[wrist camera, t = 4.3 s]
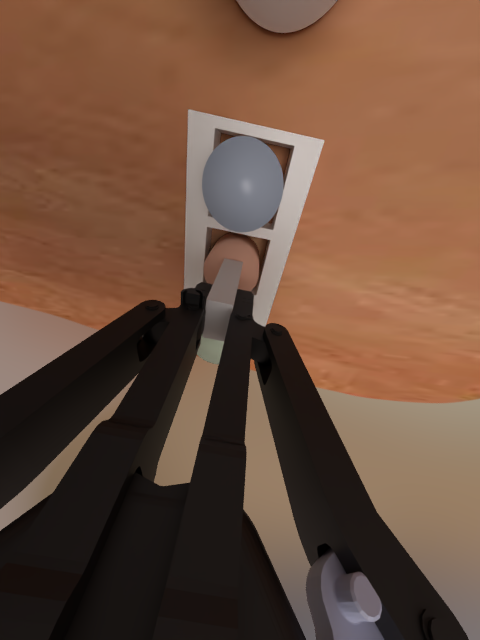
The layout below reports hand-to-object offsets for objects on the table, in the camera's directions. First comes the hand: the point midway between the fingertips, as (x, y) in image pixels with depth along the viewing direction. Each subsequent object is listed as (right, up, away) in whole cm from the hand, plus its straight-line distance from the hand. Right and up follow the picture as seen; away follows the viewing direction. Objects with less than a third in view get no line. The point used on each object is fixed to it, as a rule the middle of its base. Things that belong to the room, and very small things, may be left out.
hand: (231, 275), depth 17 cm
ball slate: (+1, +6, -2) cm, 7 cm away
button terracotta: (0, +2, +3) cm, 4 cm away
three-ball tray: (0, +3, +4) cm, 5 cm away
